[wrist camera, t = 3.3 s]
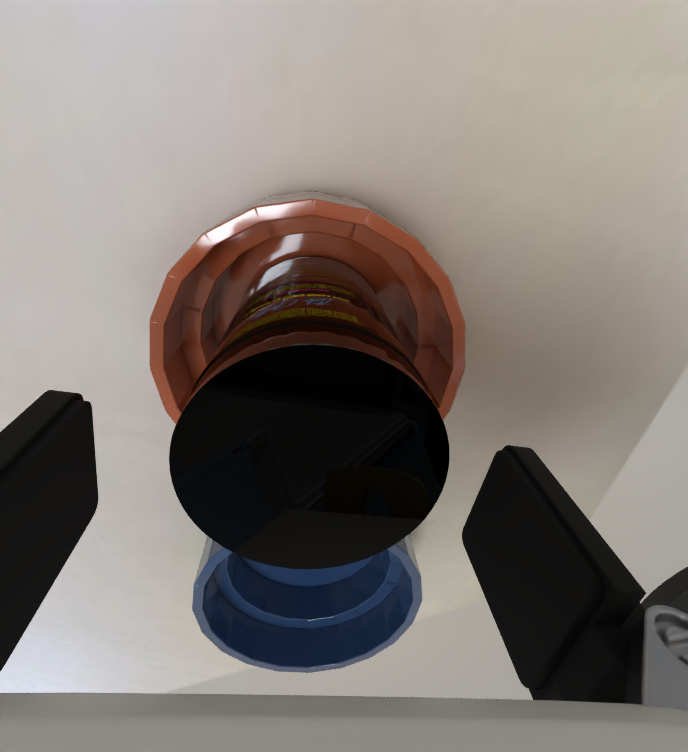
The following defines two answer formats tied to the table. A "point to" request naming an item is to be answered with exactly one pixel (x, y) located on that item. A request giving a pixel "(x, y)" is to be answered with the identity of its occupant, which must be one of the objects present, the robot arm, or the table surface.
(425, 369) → the terracotta bowl
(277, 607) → the slate-blue bowl
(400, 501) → the supplement container
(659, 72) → the table surface
